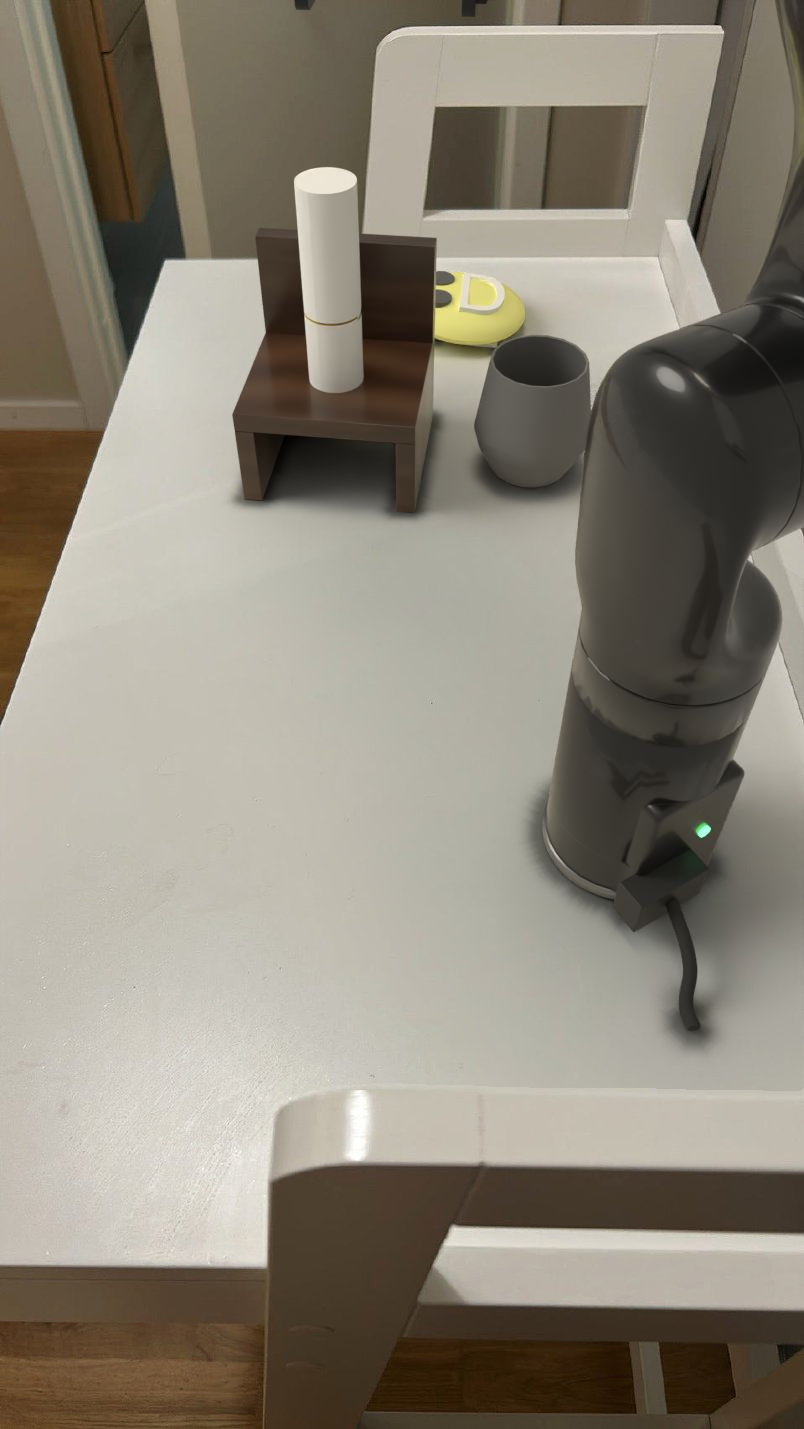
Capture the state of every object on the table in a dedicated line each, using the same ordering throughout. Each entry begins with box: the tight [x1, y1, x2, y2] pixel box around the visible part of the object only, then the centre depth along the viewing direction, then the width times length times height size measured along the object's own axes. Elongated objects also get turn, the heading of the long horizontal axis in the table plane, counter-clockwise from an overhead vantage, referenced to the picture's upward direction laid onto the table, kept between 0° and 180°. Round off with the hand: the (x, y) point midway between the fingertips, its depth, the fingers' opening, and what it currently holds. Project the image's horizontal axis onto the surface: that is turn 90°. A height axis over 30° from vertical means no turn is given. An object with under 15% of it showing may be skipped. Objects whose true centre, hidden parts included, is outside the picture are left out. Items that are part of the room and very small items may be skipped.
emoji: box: [435, 270, 526, 349], centre depth 101 cm, size 4×12×12 cm
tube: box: [293, 166, 364, 393], centre depth 77 cm, size 4×4×15 cm
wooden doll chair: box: [231, 227, 438, 513], centre depth 83 cm, size 14×14×16 cm
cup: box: [473, 334, 592, 489], centre depth 84 cm, size 10×9×10 cm
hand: (387, 9), depth 54 cm, fingers open, 8 cm apart
